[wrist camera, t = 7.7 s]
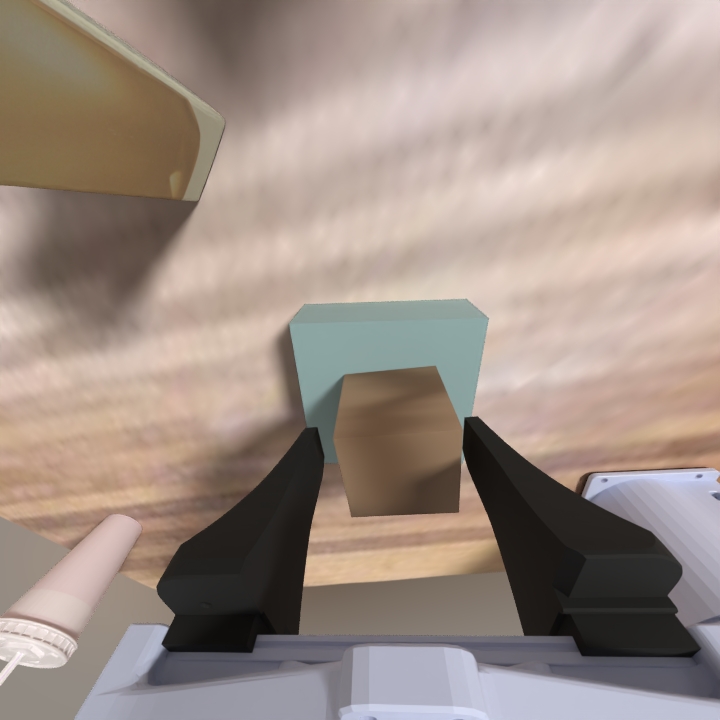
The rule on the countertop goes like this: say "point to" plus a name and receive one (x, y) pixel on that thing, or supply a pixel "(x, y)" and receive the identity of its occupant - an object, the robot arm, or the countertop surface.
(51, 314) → the countertop surface
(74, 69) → the skincare box
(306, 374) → the pale teal rectangular box
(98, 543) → the smoothie
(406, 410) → the walnut cube
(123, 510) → the countertop surface
